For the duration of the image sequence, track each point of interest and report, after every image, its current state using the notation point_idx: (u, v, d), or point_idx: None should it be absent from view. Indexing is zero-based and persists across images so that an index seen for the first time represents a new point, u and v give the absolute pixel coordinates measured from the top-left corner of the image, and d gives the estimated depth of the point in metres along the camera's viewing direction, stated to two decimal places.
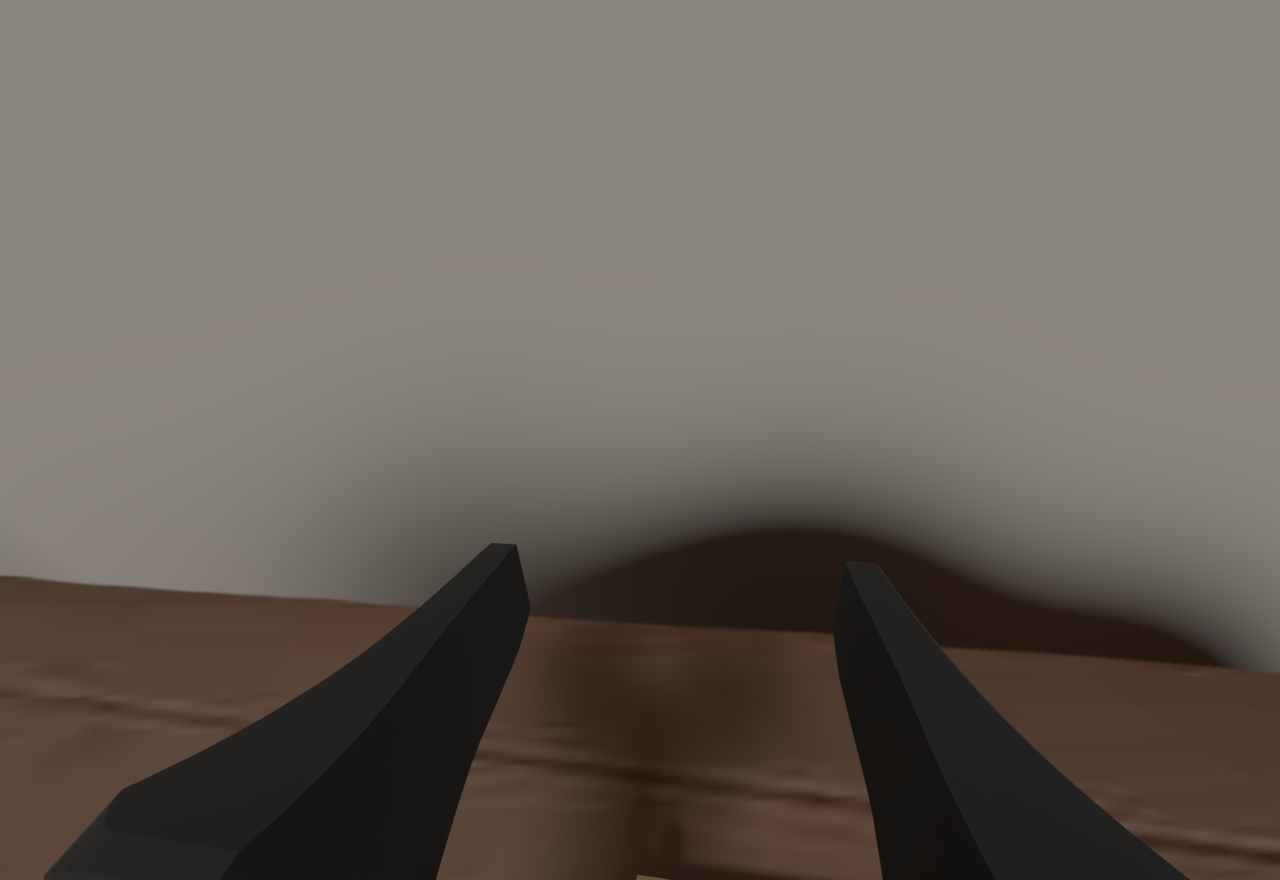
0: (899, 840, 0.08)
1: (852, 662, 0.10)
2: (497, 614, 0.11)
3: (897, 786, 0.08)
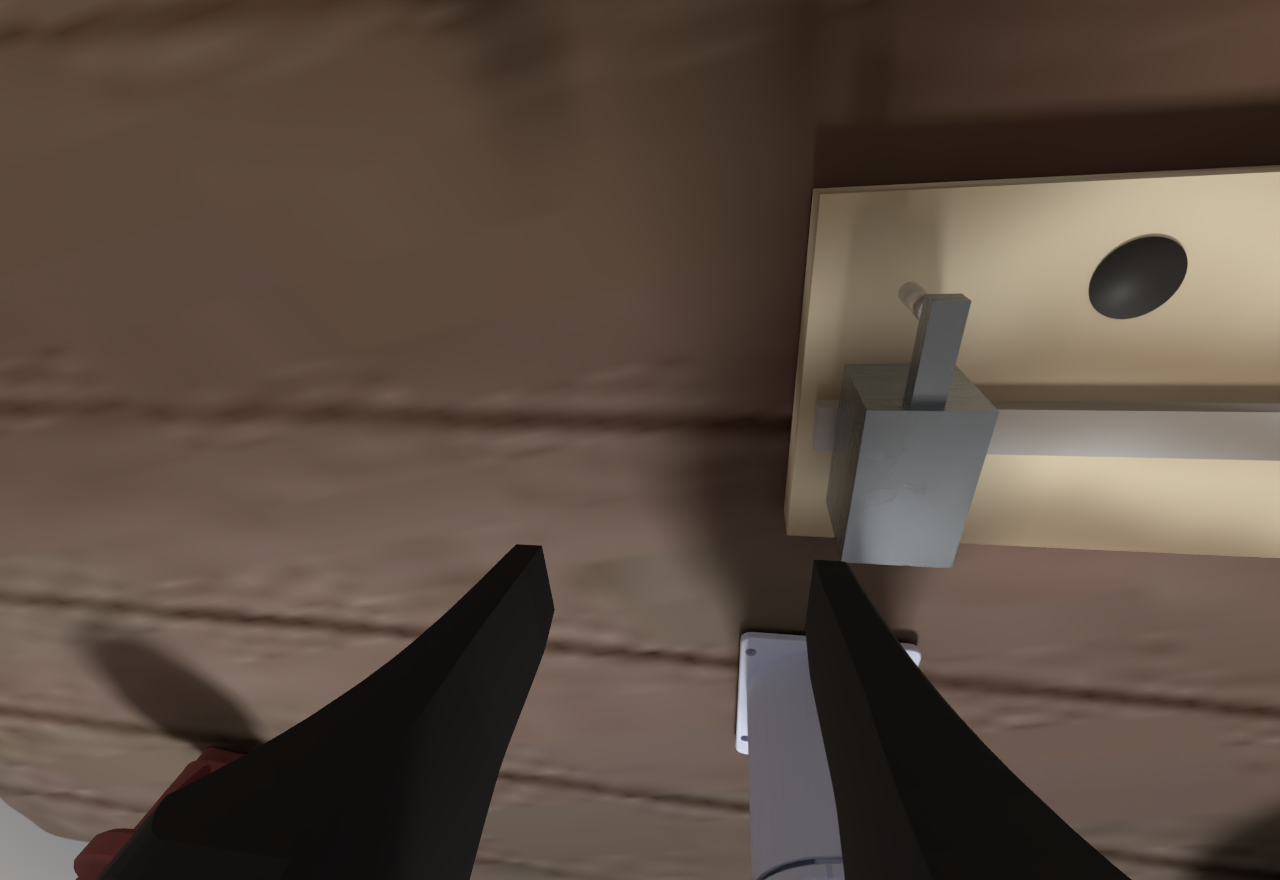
0: (857, 835, 0.08)
1: (819, 659, 0.10)
2: (524, 616, 0.11)
3: (855, 780, 0.08)
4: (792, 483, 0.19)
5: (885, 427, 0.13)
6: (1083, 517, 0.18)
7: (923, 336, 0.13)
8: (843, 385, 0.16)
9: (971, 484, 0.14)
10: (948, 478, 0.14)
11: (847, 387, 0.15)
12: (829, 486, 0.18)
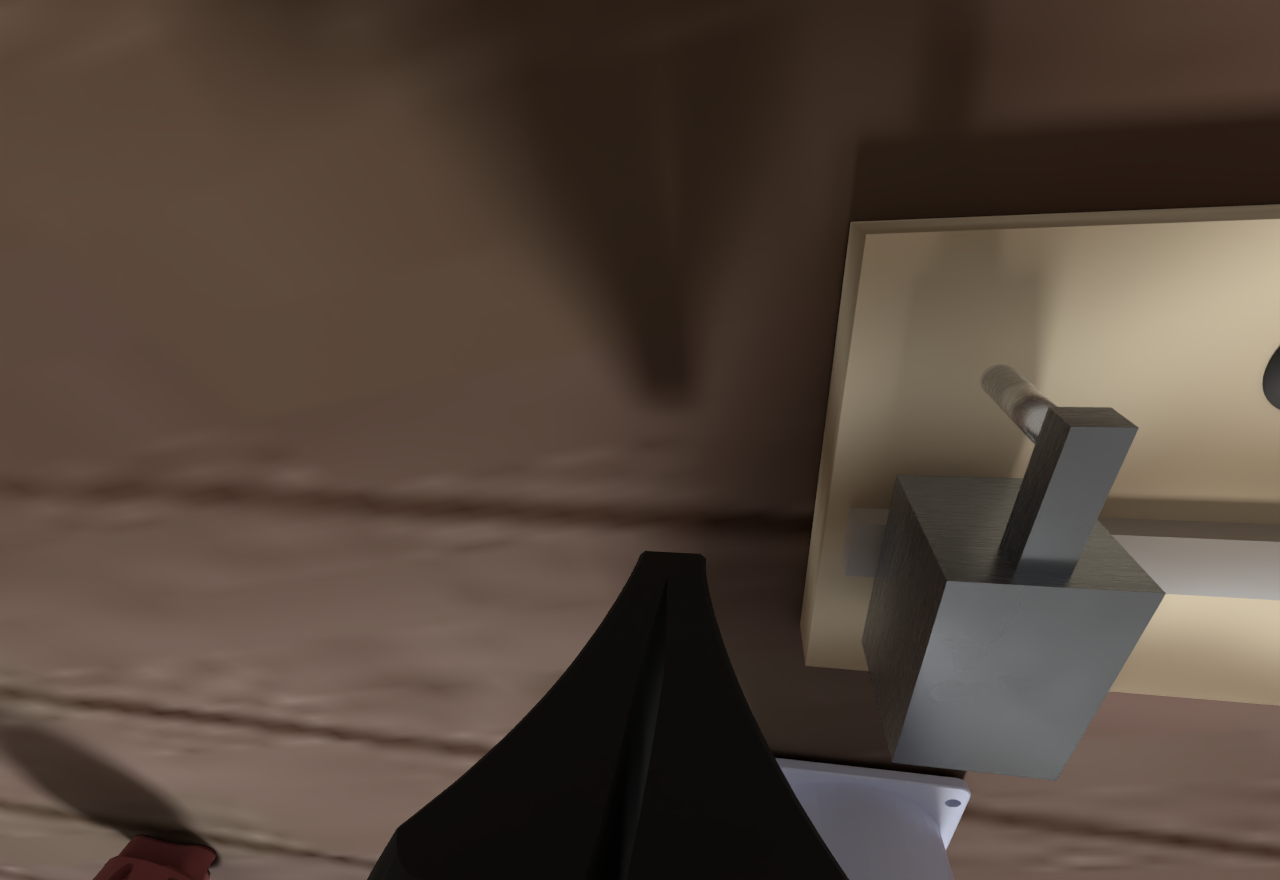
0: None
1: None
2: (665, 627, 0.11)
3: None
4: (814, 606, 0.15)
5: (974, 605, 0.09)
6: (1211, 663, 0.14)
7: (1046, 475, 0.08)
8: (894, 504, 0.11)
9: (1102, 683, 0.09)
10: (1067, 674, 0.09)
11: (902, 513, 0.11)
12: (868, 627, 0.13)
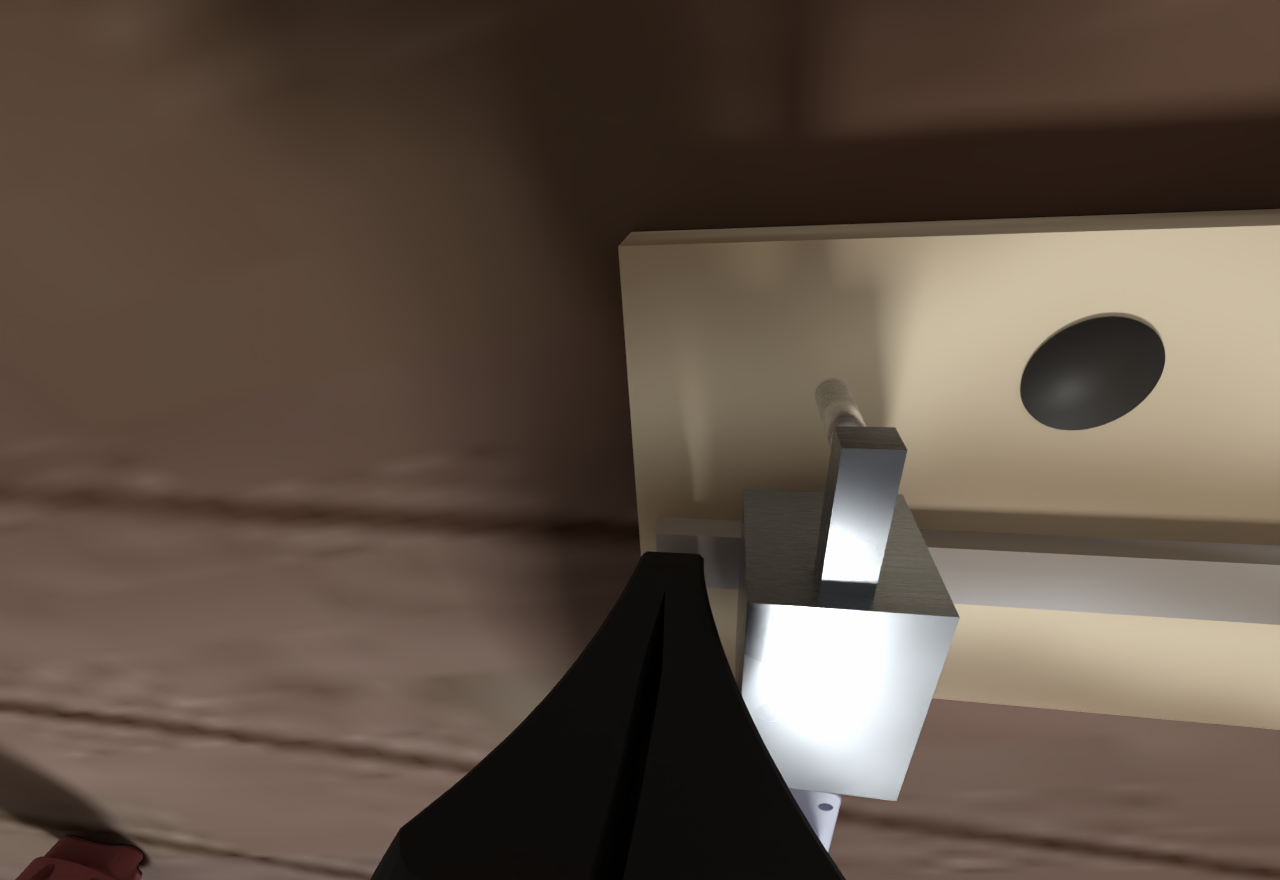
0: None
1: None
2: None
3: None
4: None
5: (779, 626, 0.08)
6: (1028, 671, 0.14)
7: (832, 496, 0.07)
8: (742, 518, 0.11)
9: (919, 706, 0.09)
10: (883, 696, 0.09)
11: (743, 528, 0.10)
12: (736, 641, 0.13)
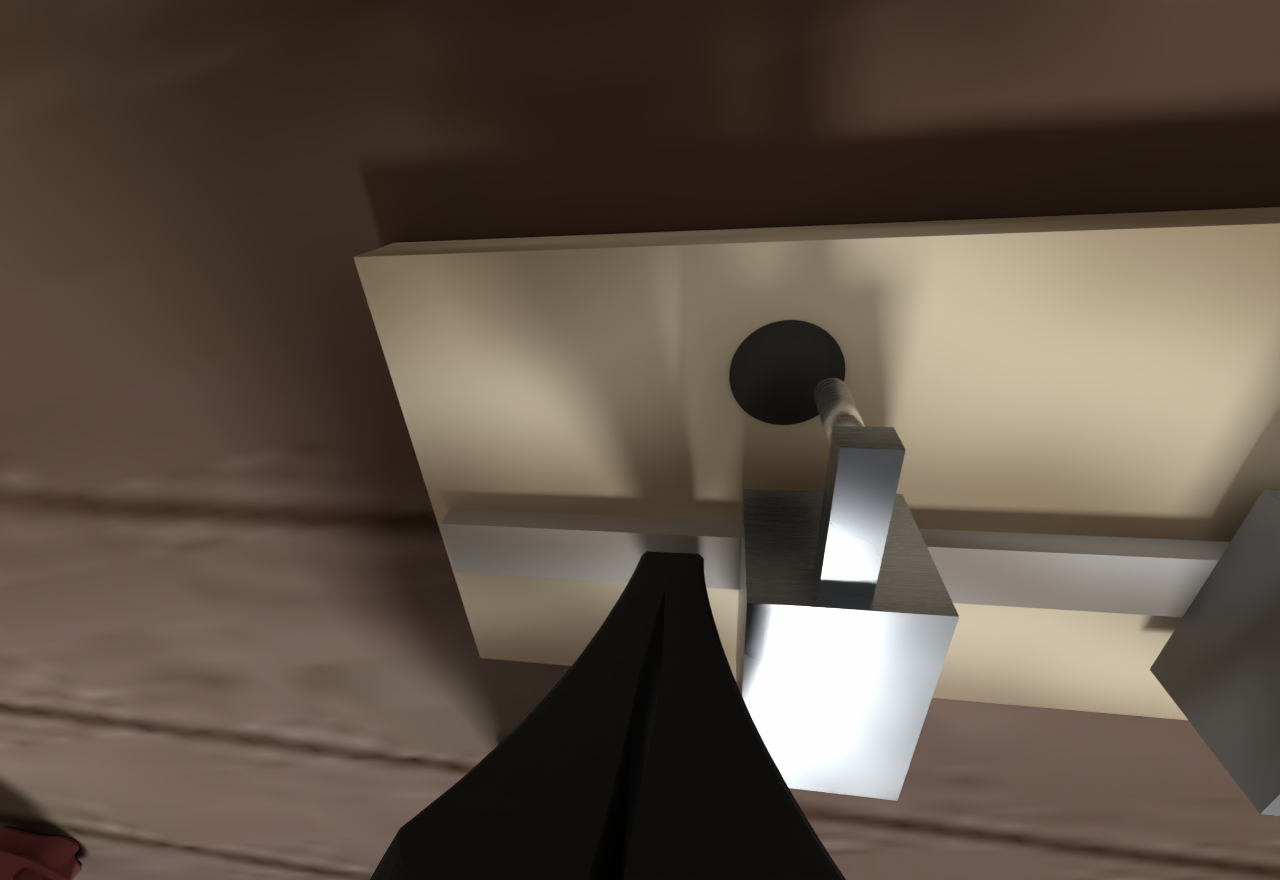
0: None
1: None
2: None
3: None
4: (463, 601, 0.15)
5: (779, 626, 0.08)
6: None
7: (831, 496, 0.08)
8: None
9: (919, 705, 0.09)
10: (884, 696, 0.09)
11: (743, 528, 0.10)
12: None
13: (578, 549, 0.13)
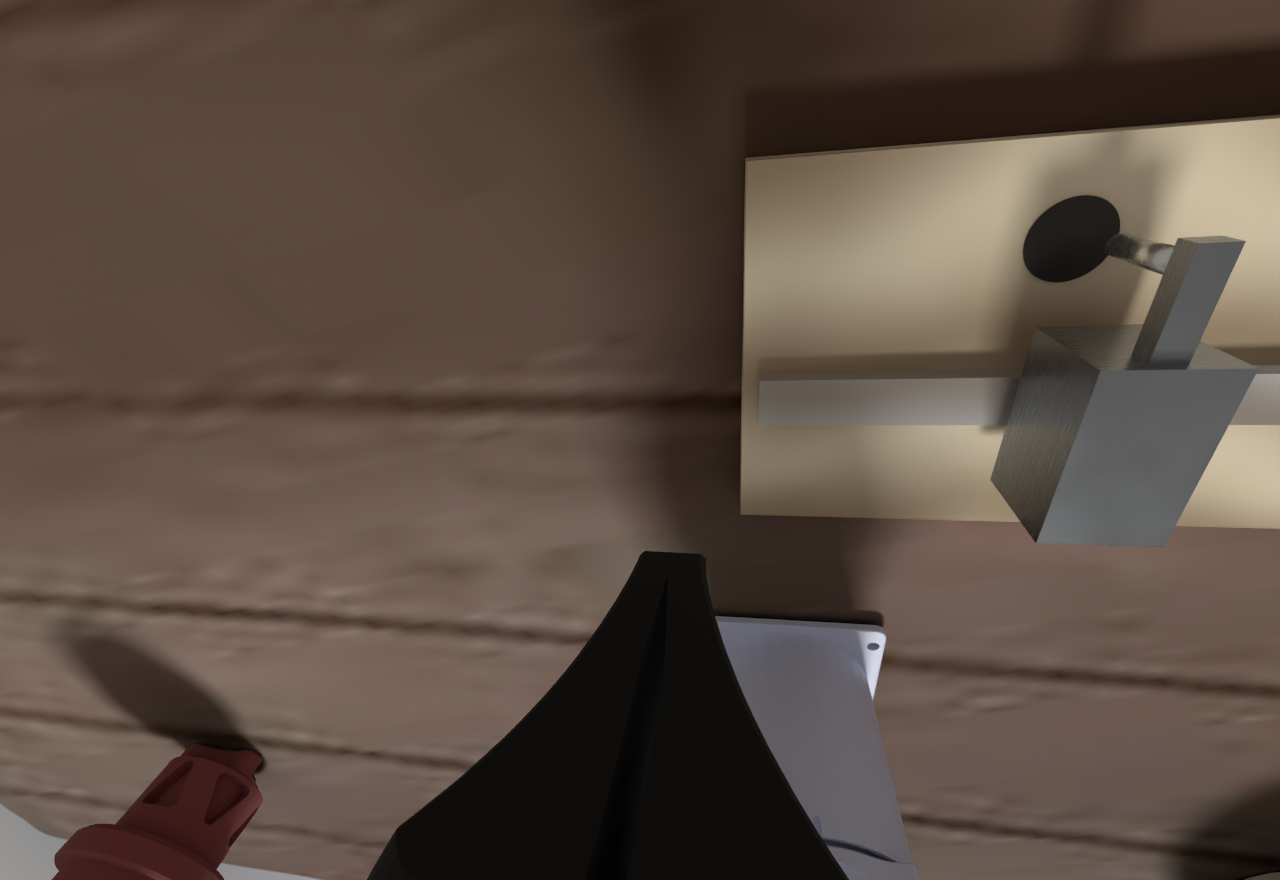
0: None
1: None
2: (665, 626, 0.11)
3: None
4: (742, 460, 0.19)
5: (1119, 389, 0.12)
6: None
7: (1176, 285, 0.11)
8: (1033, 351, 0.15)
9: (1207, 451, 0.13)
10: (1182, 446, 0.13)
11: (1044, 351, 0.14)
12: (999, 463, 0.16)
13: (871, 397, 0.17)
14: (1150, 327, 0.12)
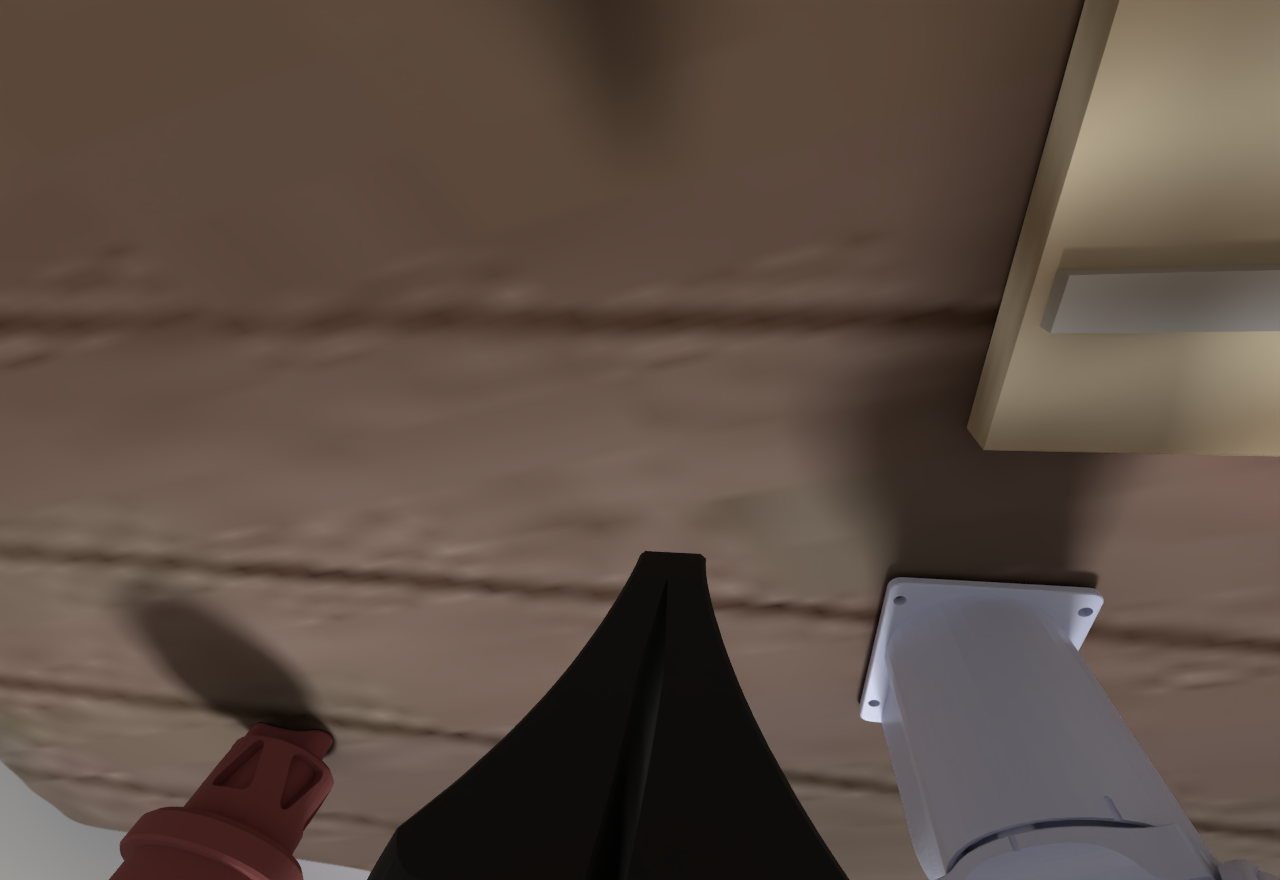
0: None
1: None
2: (665, 626, 0.11)
3: None
4: (1003, 382, 0.17)
5: None
6: None
7: None
8: None
9: None
10: None
11: None
12: None
13: (1207, 294, 0.14)
14: None
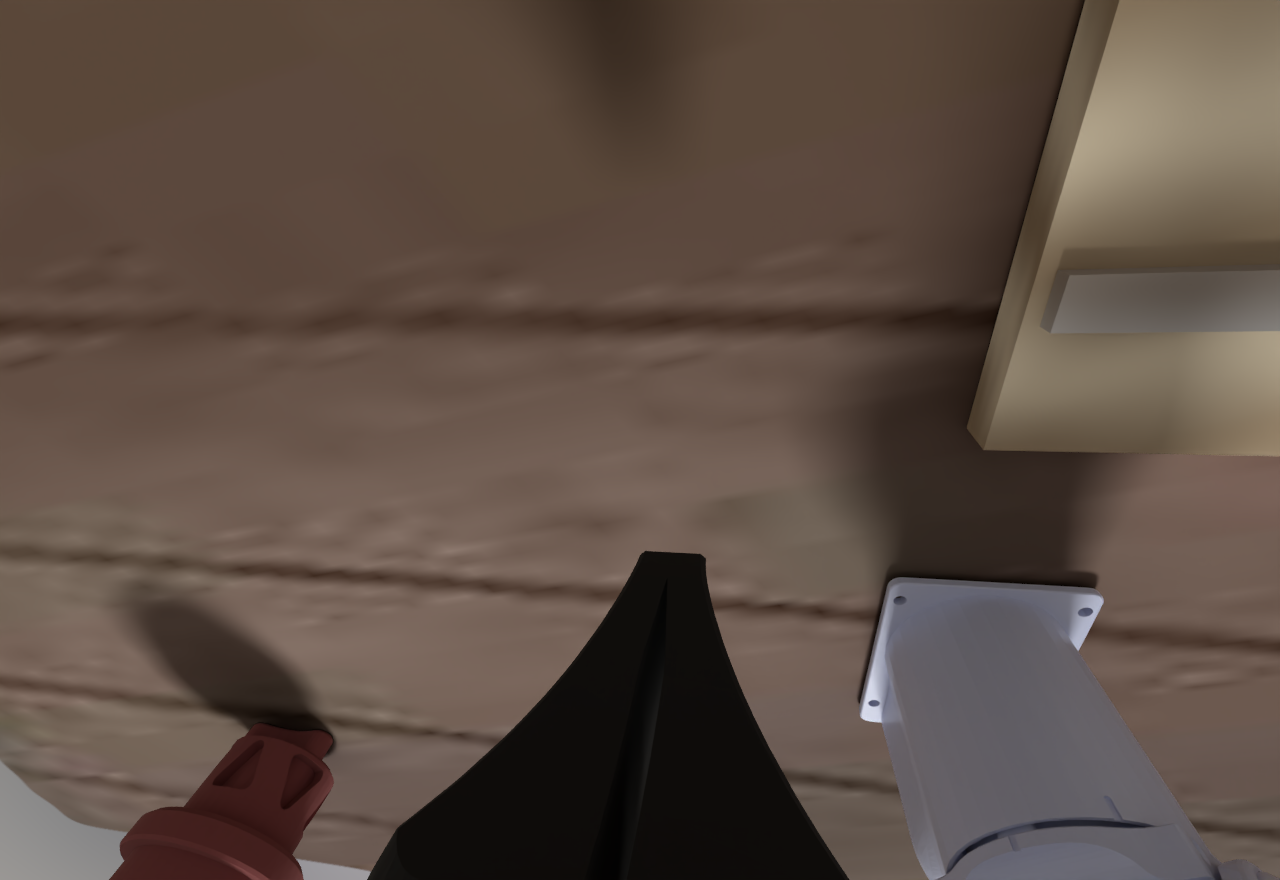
0: None
1: None
2: (665, 626, 0.11)
3: None
4: (1003, 382, 0.17)
5: None
6: None
7: None
8: None
9: None
10: None
11: None
12: None
13: (1207, 294, 0.14)
14: None
